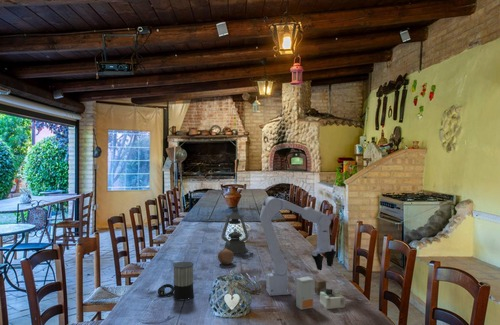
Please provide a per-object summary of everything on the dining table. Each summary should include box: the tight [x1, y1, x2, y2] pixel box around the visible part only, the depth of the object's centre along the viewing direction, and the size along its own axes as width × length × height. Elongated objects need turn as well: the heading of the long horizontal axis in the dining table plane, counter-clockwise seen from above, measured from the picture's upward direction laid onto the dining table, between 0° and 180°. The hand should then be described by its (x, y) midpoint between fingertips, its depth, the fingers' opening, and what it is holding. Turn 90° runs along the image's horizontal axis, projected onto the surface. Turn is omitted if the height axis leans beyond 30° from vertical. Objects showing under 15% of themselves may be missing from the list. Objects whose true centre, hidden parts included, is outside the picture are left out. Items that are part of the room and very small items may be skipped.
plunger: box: [320, 288, 333, 298], centre depth 167 cm, size 7×4×4 cm, turn 10°
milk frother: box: [157, 261, 195, 300], centre depth 173 cm, size 14×16×15 cm
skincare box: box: [295, 276, 315, 310], centre depth 159 cm, size 6×4×12 cm
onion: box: [217, 247, 235, 266], centre depth 224 cm, size 10×9×10 cm
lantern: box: [221, 207, 249, 255], centre depth 257 cm, size 18×20×30 cm
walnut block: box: [314, 278, 327, 296], centre depth 175 cm, size 4×4×6 cm
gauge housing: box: [319, 290, 346, 310], centre depth 162 cm, size 8×8×4 cm
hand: (324, 267), depth 180 cm, fingers open, 7 cm apart
